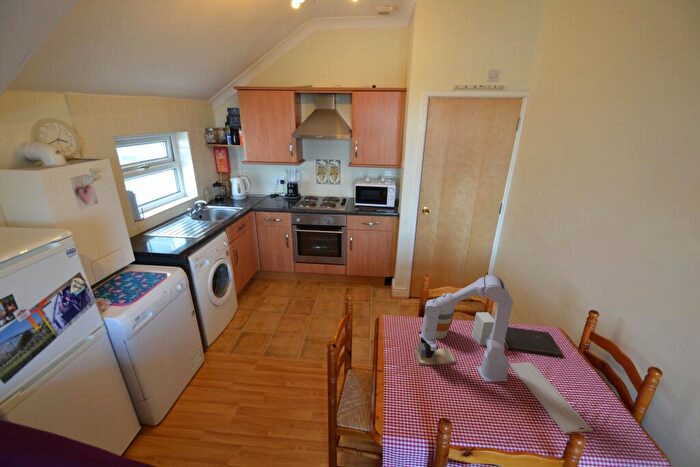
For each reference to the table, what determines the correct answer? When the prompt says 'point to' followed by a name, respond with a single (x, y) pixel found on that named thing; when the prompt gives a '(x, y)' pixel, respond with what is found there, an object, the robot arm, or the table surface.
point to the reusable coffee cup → (444, 323)
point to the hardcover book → (531, 342)
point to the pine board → (437, 357)
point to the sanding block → (423, 351)
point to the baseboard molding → (550, 399)
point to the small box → (482, 327)
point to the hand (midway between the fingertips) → (426, 352)
